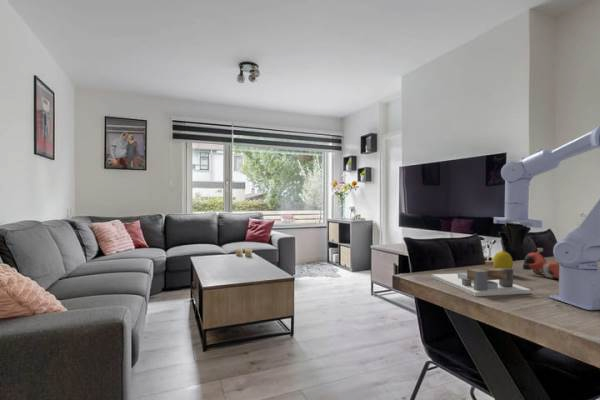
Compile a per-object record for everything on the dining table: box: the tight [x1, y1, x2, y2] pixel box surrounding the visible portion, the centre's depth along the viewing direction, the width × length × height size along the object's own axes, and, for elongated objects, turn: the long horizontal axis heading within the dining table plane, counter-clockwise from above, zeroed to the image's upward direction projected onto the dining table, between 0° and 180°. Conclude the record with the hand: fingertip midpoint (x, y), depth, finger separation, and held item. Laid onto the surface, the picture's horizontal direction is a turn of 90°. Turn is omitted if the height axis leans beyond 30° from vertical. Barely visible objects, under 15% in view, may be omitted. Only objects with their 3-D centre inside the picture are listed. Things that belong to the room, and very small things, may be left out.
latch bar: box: [466, 267, 514, 287], centre depth 87 cm, size 13×3×4 cm, turn 102°
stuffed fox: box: [522, 247, 559, 280], centre depth 104 cm, size 8×11×12 cm
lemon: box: [492, 250, 514, 269], centre depth 106 cm, size 6×6×8 cm
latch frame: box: [431, 271, 532, 297], centre depth 92 cm, size 19×17×6 cm
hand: (515, 250), depth 92 cm, fingers closed
